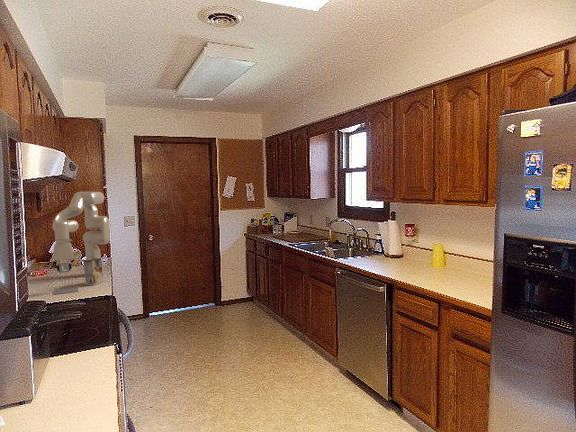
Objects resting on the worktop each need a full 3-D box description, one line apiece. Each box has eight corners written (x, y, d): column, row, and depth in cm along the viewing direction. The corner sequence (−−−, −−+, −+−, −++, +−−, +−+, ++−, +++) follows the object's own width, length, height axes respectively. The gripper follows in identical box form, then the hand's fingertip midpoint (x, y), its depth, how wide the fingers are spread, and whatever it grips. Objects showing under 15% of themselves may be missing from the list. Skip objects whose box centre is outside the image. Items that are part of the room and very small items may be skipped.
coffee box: (94, 281, 261) (93, 258, 259) (103, 281, 259) (101, 258, 258) (85, 285, 252) (83, 260, 250) (93, 285, 251) (92, 261, 249)
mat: (54, 289, 242) (54, 289, 242) (78, 286, 248) (78, 286, 248) (53, 294, 231) (53, 294, 231) (78, 291, 237) (78, 291, 237)
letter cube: (60, 271, 239) (59, 263, 239) (69, 270, 241) (68, 262, 241) (59, 273, 234) (59, 264, 234) (69, 272, 237) (68, 263, 236)
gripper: (78, 239, 244) (80, 268, 245) (46, 242, 236) (48, 271, 237) (78, 241, 237) (80, 270, 239) (45, 243, 229) (47, 273, 231)
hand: (64, 270), depth 238 cm, fingers closed on letter cube, 5 cm apart
